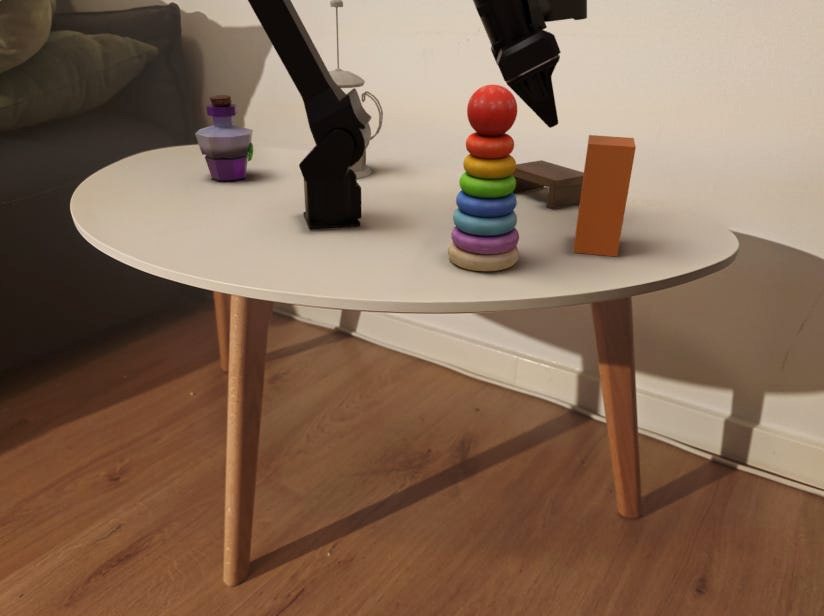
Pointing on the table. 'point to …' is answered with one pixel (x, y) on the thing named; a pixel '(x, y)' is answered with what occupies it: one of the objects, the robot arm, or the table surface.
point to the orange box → (604, 194)
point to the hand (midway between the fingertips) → (549, 118)
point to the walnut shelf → (550, 182)
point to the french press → (350, 81)
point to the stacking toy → (487, 186)
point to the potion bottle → (225, 142)
